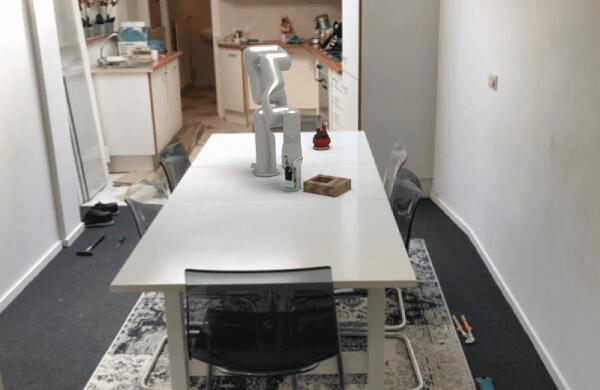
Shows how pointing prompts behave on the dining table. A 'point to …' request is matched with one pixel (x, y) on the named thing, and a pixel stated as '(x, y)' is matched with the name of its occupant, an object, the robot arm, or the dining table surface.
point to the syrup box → (294, 176)
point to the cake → (321, 137)
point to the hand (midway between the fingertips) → (292, 178)
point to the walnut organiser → (327, 185)
